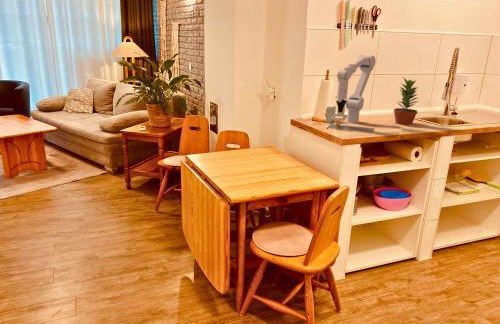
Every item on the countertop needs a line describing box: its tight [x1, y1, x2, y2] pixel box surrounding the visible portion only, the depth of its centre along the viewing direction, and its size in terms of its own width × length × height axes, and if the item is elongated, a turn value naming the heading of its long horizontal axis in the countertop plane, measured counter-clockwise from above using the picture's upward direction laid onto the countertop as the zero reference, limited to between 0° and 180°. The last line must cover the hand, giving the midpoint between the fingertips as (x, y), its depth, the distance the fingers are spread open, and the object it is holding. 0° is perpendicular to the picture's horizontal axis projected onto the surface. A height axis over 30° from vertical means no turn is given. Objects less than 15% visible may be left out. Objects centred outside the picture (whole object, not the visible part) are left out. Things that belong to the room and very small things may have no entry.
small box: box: [324, 104, 337, 124], centre depth 255 cm, size 8×6×10 cm
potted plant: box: [393, 77, 420, 126], centre depth 252 cm, size 15×15×30 cm
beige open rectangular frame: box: [330, 106, 348, 122], centre depth 235 cm, size 13×8×6 cm, turn 157°
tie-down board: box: [326, 123, 376, 133], centre depth 235 cm, size 12×27×1 cm, turn 67°
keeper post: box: [335, 120, 341, 127], centre depth 237 cm, size 2×2×4 cm
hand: (340, 112), depth 240 cm, fingers closed on beige open rectangular frame
